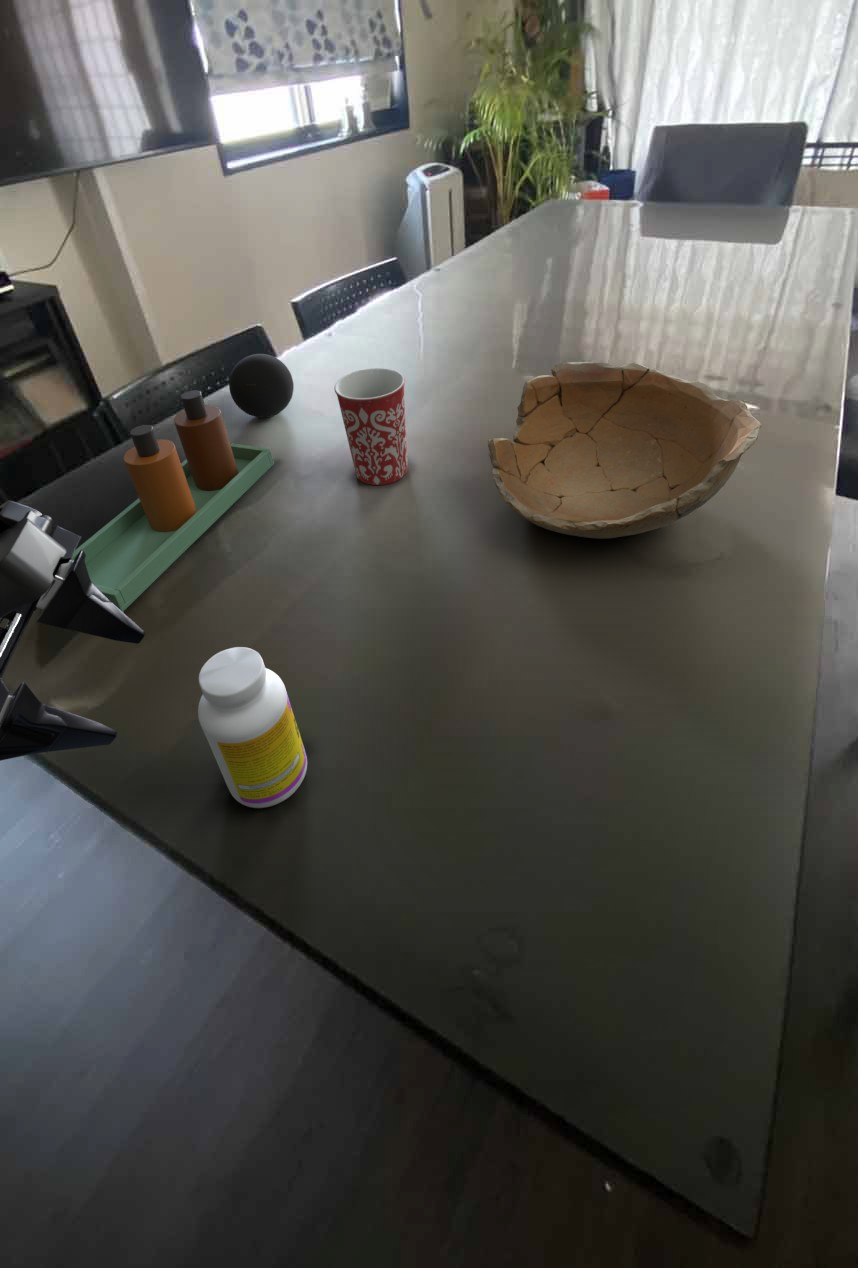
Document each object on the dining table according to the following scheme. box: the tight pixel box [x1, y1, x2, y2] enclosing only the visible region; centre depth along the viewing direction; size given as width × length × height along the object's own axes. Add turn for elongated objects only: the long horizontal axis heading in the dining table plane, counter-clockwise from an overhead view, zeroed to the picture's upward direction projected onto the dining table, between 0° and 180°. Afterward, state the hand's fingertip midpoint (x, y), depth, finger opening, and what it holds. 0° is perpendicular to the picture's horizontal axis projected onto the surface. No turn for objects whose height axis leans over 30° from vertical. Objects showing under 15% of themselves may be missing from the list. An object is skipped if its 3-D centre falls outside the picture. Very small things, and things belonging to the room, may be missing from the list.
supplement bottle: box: [197, 646, 308, 809], centre depth 53 cm, size 7×7×13 cm
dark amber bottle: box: [173, 389, 238, 491], centre depth 91 cm, size 6×6×13 cm
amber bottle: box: [123, 424, 197, 532], centre depth 84 cm, size 6×6×13 cm
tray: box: [71, 442, 275, 613], centre depth 88 cm, size 32×11×3 cm, turn 159°
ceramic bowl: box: [487, 361, 763, 539], centre depth 82 cm, size 30×27×15 cm
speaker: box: [228, 353, 295, 418], centre depth 109 cm, size 10×10×10 cm
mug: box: [333, 367, 409, 486], centre depth 92 cm, size 13×9×14 cm
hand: (129, 684), depth 49 cm, fingers open, 9 cm apart
